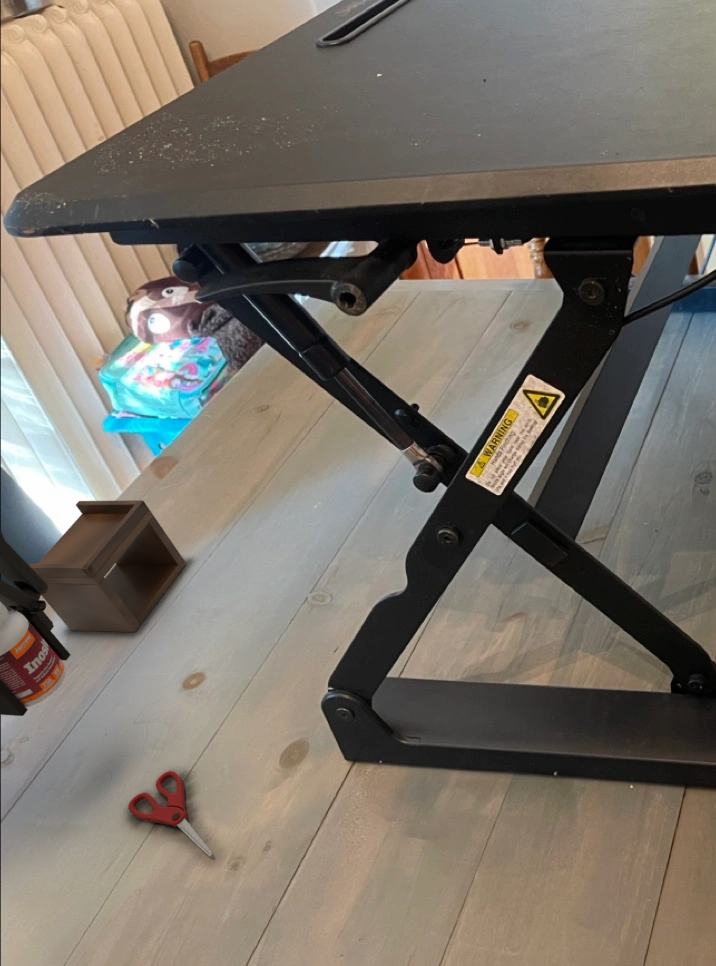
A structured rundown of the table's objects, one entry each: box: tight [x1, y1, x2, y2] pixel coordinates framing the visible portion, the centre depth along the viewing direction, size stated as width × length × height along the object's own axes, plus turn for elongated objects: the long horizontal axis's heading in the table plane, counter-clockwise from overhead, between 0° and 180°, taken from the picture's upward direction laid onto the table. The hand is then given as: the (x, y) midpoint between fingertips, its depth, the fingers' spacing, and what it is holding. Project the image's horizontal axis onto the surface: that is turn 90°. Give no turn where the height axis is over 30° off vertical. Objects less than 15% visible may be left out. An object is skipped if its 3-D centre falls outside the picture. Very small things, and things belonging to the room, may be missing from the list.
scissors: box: [128, 770, 213, 858], centre depth 110 cm, size 5×14×1 cm, turn 50°
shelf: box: [26, 499, 187, 633], centre depth 137 cm, size 10×12×12 cm
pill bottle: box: [0, 601, 67, 708], centre depth 106 cm, size 6×6×11 cm
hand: (36, 683), depth 109 cm, fingers closed on pill bottle, 6 cm apart
